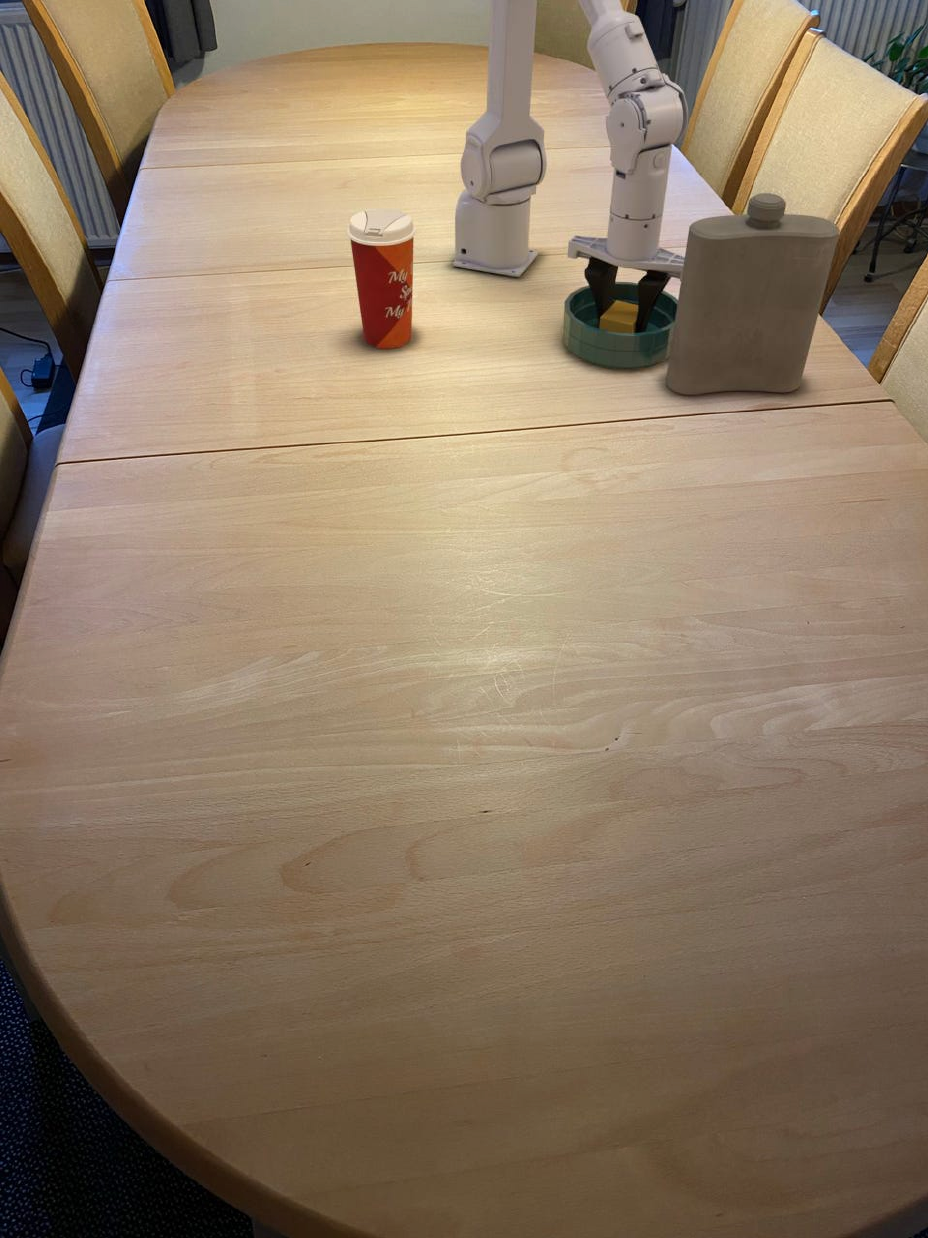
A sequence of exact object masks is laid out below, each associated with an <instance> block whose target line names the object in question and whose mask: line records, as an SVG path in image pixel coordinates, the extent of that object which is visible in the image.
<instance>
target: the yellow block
mask: <svg viewBox="0 0 928 1238" xmlns="http://www.w3.org/2000/svg"><path fill="white" fill-rule="evenodd" d="M637 313H638V305H635V304H630V303H626V302H621V301H615V303H614V304H613V305H612V306H611V307H610V308H609V309H608V310H607V311H606V312H605V313H604V314H603V315H602V316H601V317H600V326H599V329H601V330H606V331H612V332H617V333H635V329H636V319H637Z"/></svg>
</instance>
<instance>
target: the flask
mask: <svg viewBox="0 0 928 1238" xmlns="http://www.w3.org/2000/svg"><path fill="white" fill-rule="evenodd" d="M786 206H787V201H786V200H785V199H784V198H783V197H782V196H780V195H778V194H776V193H769V192H762V193H757V194H755V195H753V196H752V197H750V198H749V200H748V203H747V208H746V209H747V210H746V213H745V214H743V213H742V214H729V215H717V216H710V217H709V216H708V217H705V218H701V219H698V220H696V221H694V222H692V223H691V224H690V225H689V227H688V228H689V229H688V234H687V240H686V248H685V253H684V257H685V259H684V266H683V272H682V279H681V281H680V287H679V292H678V298H677V300H678V305H677V311H676V318H675V324H674V330H673V337H672V343H671V350H670V356H669V358H668V364H667V370H666V376H665V384H666V386H667V387H668V388H669V389H670V390H672V391H673V392H675V393H676V394H680V395H683V396H698V395H704V394H710V393H721V392H746V391H747V392H765V393H767V392H768V393H777V394H778V393H779V394H784V393H791V392H794V391H795V390H797V389H799V388H800V386H801V383H802V379H803V375H804V371H805V367H806V365H807V364H806V363H807V360H808V356H809V352H810V348H811V344H812V341H813V337H814V333H815V328H816V325H817V321H818V317H819V314H820V309H821V307H822V302H823V298H824V295H825V290H826V286H827V282H828V279H829V275H830V271H831V267H832V263H833V259H834V256H835V252H836V248H837V244H838V241H839V237H840V232H841V229H840V227H839V226H838V225H837V224H836V223H835V222H833V221H832V220H830V219H827V218H824V217H819V216H814V215H805V214H792V213H791V214H789V213H788V214H787V213H785V211H786Z"/></svg>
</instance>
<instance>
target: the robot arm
mask: <svg viewBox="0 0 928 1238" xmlns="http://www.w3.org/2000/svg"><path fill="white" fill-rule="evenodd" d="M577 1H578V3H579V6H580V8H581V10H582V11H583V13H584V16H585V17H586V19H587V21H588V24H589V26H590V27H591V28H590V29H591V30H590V33H589V36H588V39H587V45H586V49H587V53H588V55H589V57H590V59H591V63H592V65H593V68H594V69H595V72H596V75H597V77H598V79H599V82H600V85H601V87H602V90H603V93H604V95H605V98H606V101H607V103H608V105H609V108H610V110H609V114H608V115H606V116H605V128H606V135H607V139H608V142H609V145H610V146H609V147H610V156H609V161H610V162H611V163H610V165H611V167H612V168H613V174H612V184H611V195H610V206H609V215H608V225H607V235H606V237H597V236H596V237H594V236H593V237H592V236H583V235H577V234H575V235H574V236H573V237H571V238H570V239H569V240H568V244H567V258H569V259H573V260H576V259H578V258H581V259H585V260H588V263H587V267H585V268H584V271H583V272H584V273H583V274H584V279H585V281H586V282H587V284H588V285H589V286H590V289H591V291H592V294H593V297H594V300H595V304H596V309H597V315H598V322H599V326H600V317H601V316H602V315H603V314H604V313H605V312H606V311H607V310H608V309H609V308H610V307H611V306H612V305H613V293H614V286H615V282H617V281H616V280H617V276H618V271H619V268H623V269H630V270H631V269H632V270H637V271H641V272H646V274H644V275H643V276H642V278H640V279H639V281H638V282H637V283H638V313H637V319H636V329H635V333H641V332H644V331H645V330H646V329H647V325H648V322H649V319H650V316H651V313H652V311H653V309H654V306H655V304H656V302H657V300H658V298H659V297H660V295H661V293H662V291H663V290H664V291H665V288H666V286H667V285H668V284H669V282H670V280H671V279H673V278H674V279H678V280H679V282H681V279H682V272H683V266H684V259H685V256H683V255H680V254H678V253H675V252H674V251H671V250H668V249H666V248H663V247H660V246H659V245H660V238H661V230H662V223H663V216H664V208H665V202H666V200H665V199H666V193H667V188H668V187H667V186H668V178H669V171H670V163H671V157H672V149H673V146H672V145H676V144H677V143H679V142H680V141H681V140H682V138H683V137H684V136H685V133H686V131H687V128H688V124H689V107H688V103H687V98H686V96H685V95H686V94H685V92H684V90H683V89H682V88H681V87H680V85H678V84H677V83H675V82H673V81H671V80H670V78H669V75H668V74H666V73H662V72H661V70H660V68H659V65H658V62H657V60H656V57H655V55H654V53H653V52H654V51H653V50H652V48H651V45H650V43H649V40H648V37H647V34H646V32H645V29H644V27H643V24H642V21H641V19H640V17H639V16H638V15H636V14H634V13H631V12H628V11H626V10H624V8H623V5H622V2H621V0H577ZM489 4H490V5H489V30H488V32H489V34H488V56H487V57H488V59H487V61H488V62H487V86H486V87H487V90H486V111H484V113H482V115H481V116H480V117H479V118H478V119H477V120H476V121H475V122H474V123H473V124H472V125H471V126H470V127H468V129H467V130H466V131H465V143H464V148H463V152H462V155H461V159H460V175H461V176H460V177H461V180H462V183H463V186H464V188H465V189H463V190H462V192H461V193H460V195H459V197H458V199H457V202H456V207H455V215H454V250H455V251H454V253H455V254H454V258H455V259H454V261H453V262H452V264H453V266H454V267H456V268H457V267H458V268H463V269H468V270H475V271H478V272H479V271H480V272H485V273H491V274H496V275H502V276H509V277H515V278H519V277H521V276H522V275H523V273H524V272H525V271H526V270H527V268H529V266H530V265H531V264H532V263H533V262H534V261H535V259H536V258H537V257H538V256H539V252H538V250H533V249H529V245H530V227H531V226H530V225H531V224H530V222H531V219H530V218H531V203H532V202H531V200H532V196H533V195H536V194H537V186H539V185H540V184H541V183H542V182H543V181H544V179H545V176H546V172H547V169H548V168H547V167H548V159H547V157H548V156H547V153H546V149H545V148H546V147H545V129H544V127H543V126H542V125H541V124H540V123H539V122H538V121H537V120H536V119H535V118H534V117H532V116H531V100H532V99H531V98H532V87H533V85H532V84H533V83H532V82H533V69H534V68H533V67H534V55H535V39H536V38H535V36H536V23H537V22H536V21H537V6H538V0H490V2H489Z"/></svg>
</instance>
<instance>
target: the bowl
mask: <svg viewBox="0 0 928 1238" xmlns="http://www.w3.org/2000/svg"><path fill="white" fill-rule="evenodd" d="M615 301H621V302H626V303H630V304H635V305H638V282H632V281H631V282H630V281H615V286H614V293H613V304H614V303H615ZM677 305H678V298H677V297H676V296H674V295H672V294H671V293H669V292H667V291H665V289H664V290H663V291H662V293H661V295H660V297H659V298H658V300H657V302H656V304H655V306H654V309H653V311H652V313H651V316H650V319H649V322H648V325H647V329H646V330H645V331H644V332H641V333H617V332H612V331H606V330H601V329H599V322H598V315H597V309H596V304H595V300H594V297H593V294H592V291H591V289H590V286H589V284H588V285H585V286H582V287H579V288H578V289H576V290H574V291H572V292H571V293H570V294H569V295H568V296H567V297H566V299H565V300H564V303H563V317H562V330H561V331H562V332H561V334H562V335H561V339H562V340H561V341H562V342H563V344H564V345H565V347H566V348H567V350H568V351H570V352H571V354H573V355H574V356H575V357H576V358H578V359H580V360H581V361H583V362H585V363H588V364H590V365H594V366H596V367H600V368H604V369H610V370H625V371H626V370H628V371H629V370H640V369H645V368H650V367H653V366H657V365H659V364H661V363H663V362H664V361H666V360H667V359H669V356H670V350H671V343H672V337H673V330H674V324H675V318H676V311H677Z"/></svg>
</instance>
